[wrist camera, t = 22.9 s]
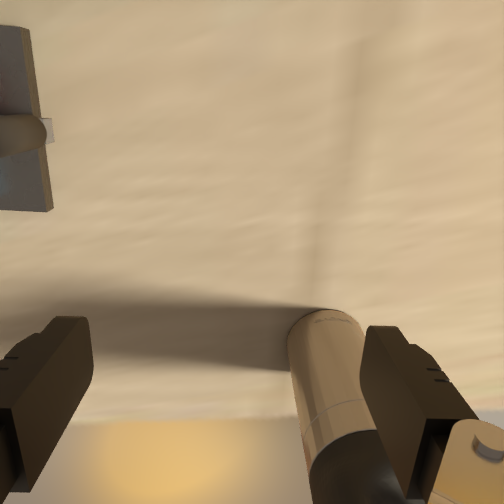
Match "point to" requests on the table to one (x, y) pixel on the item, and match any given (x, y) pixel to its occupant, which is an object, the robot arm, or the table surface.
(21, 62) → the vise
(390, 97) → the table surface
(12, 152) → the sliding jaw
